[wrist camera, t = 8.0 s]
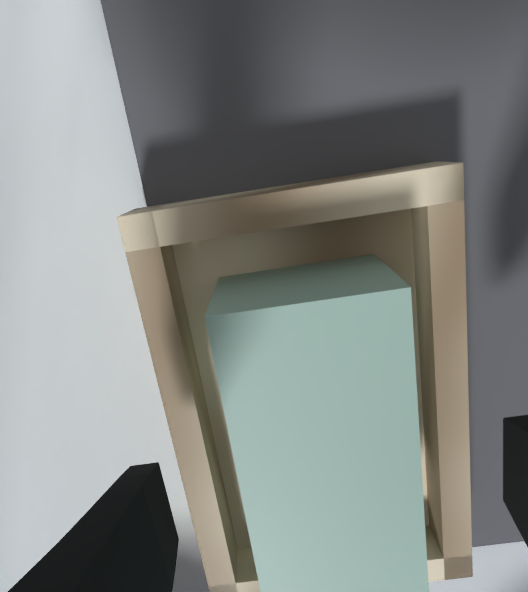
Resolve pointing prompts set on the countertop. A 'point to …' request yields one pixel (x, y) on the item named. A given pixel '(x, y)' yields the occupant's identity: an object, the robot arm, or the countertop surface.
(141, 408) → the countertop surface
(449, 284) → the tray
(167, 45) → the mat
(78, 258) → the countertop surface
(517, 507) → the robot arm
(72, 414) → the countertop surface
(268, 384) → the block
